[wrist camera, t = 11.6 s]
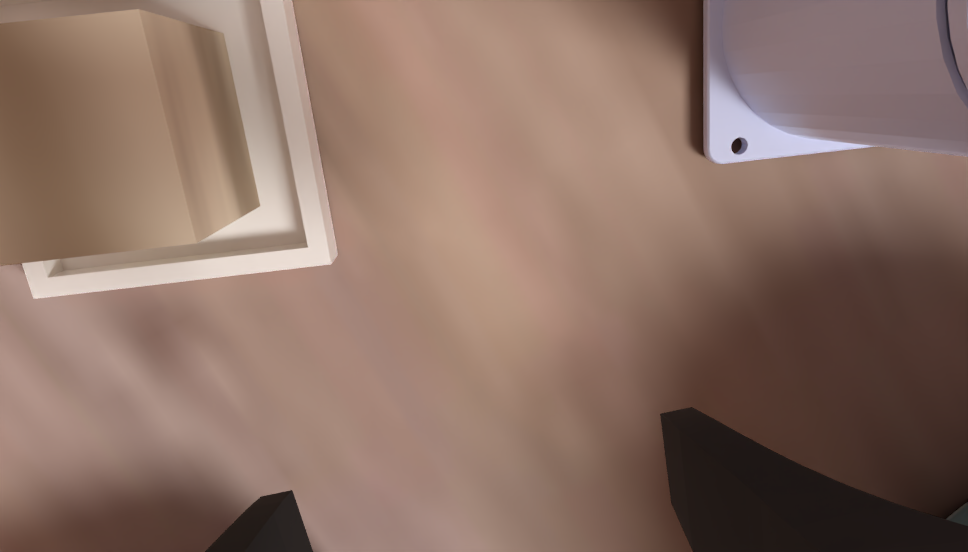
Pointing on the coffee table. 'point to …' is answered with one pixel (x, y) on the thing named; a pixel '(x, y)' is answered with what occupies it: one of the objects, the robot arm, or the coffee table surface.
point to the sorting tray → (271, 143)
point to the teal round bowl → (960, 515)
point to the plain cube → (117, 136)
